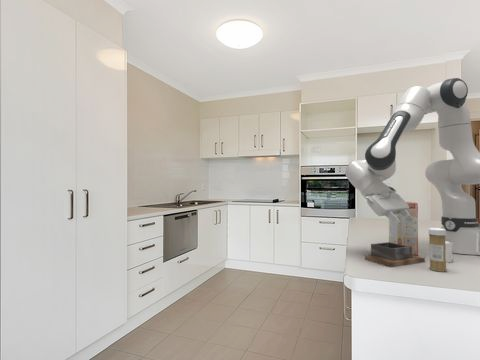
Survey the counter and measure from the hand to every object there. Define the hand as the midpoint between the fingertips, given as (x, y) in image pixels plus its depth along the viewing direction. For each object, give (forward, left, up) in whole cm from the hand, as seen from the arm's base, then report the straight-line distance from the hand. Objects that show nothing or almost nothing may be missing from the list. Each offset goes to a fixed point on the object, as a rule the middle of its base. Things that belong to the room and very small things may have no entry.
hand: (405, 222), depth 98 cm
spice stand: (+1, -4, -15) cm, 15 cm away
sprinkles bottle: (-3, +9, -15) cm, 18 cm away
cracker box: (-16, -13, -15) cm, 26 cm away
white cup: (-15, +2, -15) cm, 22 cm away
